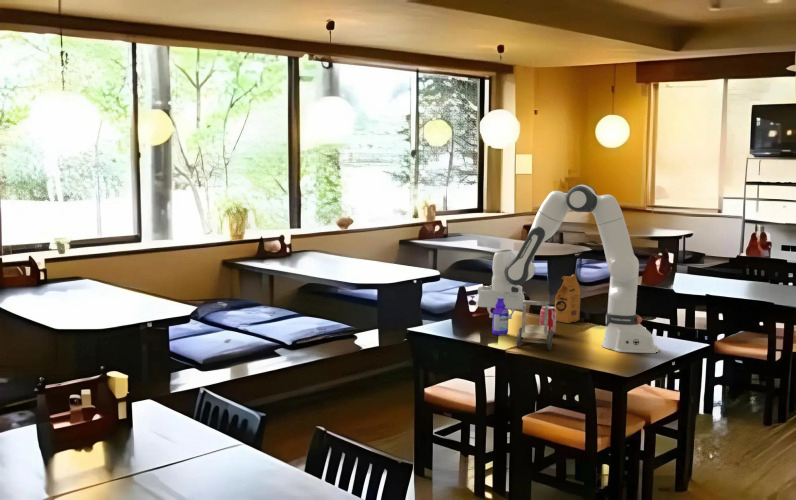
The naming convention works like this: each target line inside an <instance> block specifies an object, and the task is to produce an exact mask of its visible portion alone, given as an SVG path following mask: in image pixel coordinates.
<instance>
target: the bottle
mask: <svg viewBox="0 0 796 500" xmlns="http://www.w3.org/2000/svg"><path fill="white" fill-rule="evenodd" d="M503 300H504V296H498V302H497V304H496V305H495V306H496V308H493V310H492V313H493V318H492V323H491V324H492V327H491V329H492V334H493V335H495V336H504V335H507V334H508V333H509V320H510V319H508V315H509V314H510V313H509V309H505V307H506V305H505V304H504V302H503Z"/></svg>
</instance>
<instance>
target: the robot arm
mask: <svg viewBox="0 0 796 500" xmlns="http://www.w3.org/2000/svg"><path fill="white" fill-rule="evenodd" d="M570 211H573V212H576V213H591V214H592V216H593V217H594V219H595V223H596V227H597V229H598V230H597V231H598V233H599V236H600V237H599V238H600V240H601V242H602V247H603V250H604V255H605V261H606V264H607V267H608V271H609V273H610V274H609V275H610V277H609V289H608V301H607V312H606V314H605V332H604V336H603V341H602V343H601V347H603V348H605V349H608V350H612V351H616V352H618V353H636V354H657V353H659V352H660V351H659V350H660V349H659V346H658V345H656V344H655V343H654V337H653V334H652V333H651V331H650V330H648V329H647V328H646V327H644V326H643V325H642V324H641V323H642V321H643V318H642V317H641V316H640V315H638V314H637V313H636V310H637V298H638V296H637V295H638V283H639V271H640V262H639V259H638V257H637V256H636V255H635V253H634V249H633V246H632V240H631V237H630V233H629V230H628V227H627V223H626V220H625V217H624V214H623V212H622V208H621V207H620V204H619V202H618V200H617V198H616V197H615V196H614V195H611V194H601V195H599V194H597V192H596V190H595V188H594V187H593V186H590V185H587V184H578V185H576V186H573V187H572V188H570V189H569V190H568V191H567V193H566V192H563V191H560V190H552V191H551V192H549V194H548V195H547V196H546V197H545V199H544V200H543V201H542V203H541V205H540V207H539V208H538V210H537V213H536V215H535V217H534V218H533V222H532V224H531V227H530V230H529V232H528V234H527V237H526V238H525V241H524V242H523V244H522V246H521V248H519V251H518V253H517V254H516V253H515V252H514V250H512V249H500V250H497V251H496V252H495V253H494V255H493V259H492V266H491V267H492V276H491V285H481V286H479V287H478V288H477V295H478V299H477V305H478V307H479V308H486V309H487V312H488V314H489V318H490V319H491V318H492V319H493V312H491V310H492V309H494V308H496V306H495V305H496V304H497V302H498V296H504V300H503V302H504V304H505V305H506V307H505V309H508V310H510V311H511V313H509V315H508V319H509V320H512V319H513V314H514V313H515V311H516V310H521V311H523V300H525V295H524V293H523V286H522V284H525V282H527V281H528V280H530V279H532V278H533V277H534V275H535V273H536V266H535V263H534V262H533V259H534V258H535V256H536V254H537V252H538V250H539V248H540V247H541V246H542V245H543V244H544V243H545V242H546V241H548V240H549V239H550V238H551V237H553V236H554V235H555V234H556V232H557V231H559V228H560V227H561V224H562V223H563V221H564V220H565V217H566V215H567V214H568V213H569V212H570ZM658 351H659V352H658ZM656 352H657V353H656Z"/></svg>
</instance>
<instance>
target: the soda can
mask: <svg viewBox="0 0 796 500" xmlns="http://www.w3.org/2000/svg"><path fill="white" fill-rule="evenodd" d="M544 322H545V306H541V309H540V312H539V325H542V326H544ZM547 326H549V330H553V335H554V334H556V330H557V329H556V327H557V321H556V310H555V306H552V305H548V325H547ZM549 330H548V334H549Z"/></svg>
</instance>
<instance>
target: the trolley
mask: <svg viewBox="0 0 796 500" xmlns="http://www.w3.org/2000/svg"><path fill="white" fill-rule="evenodd" d="M527 305H528V306H531V305H532V306H541V307H542V306H545V322H544V326H542V325H540V324H539V325H538V324H526V317H527V313H526V312H527ZM548 306H550V305H549V301H541V300H540V301H539V300H526V299H524V300H523V309H522V316H521V317H522V319H521V327H519V330H518V332H517V336H516V348H521V347H522V343H523V342H524V343H533V344H534V343H535V344H546V350H548V351H552V344H553V335H554V334H553V330H549V326H547V325H548ZM548 330H549V334H548ZM532 338H533V339H532ZM543 339H545V340H543Z"/></svg>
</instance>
